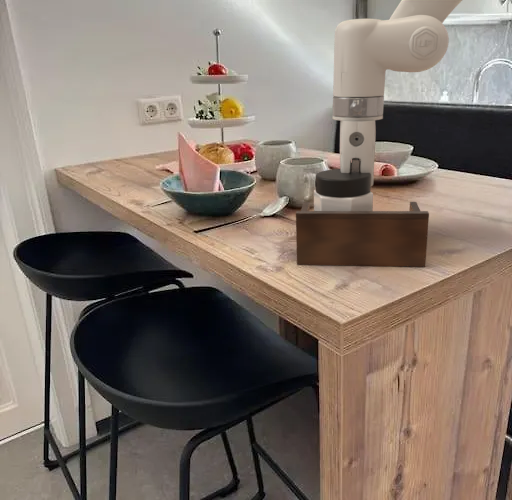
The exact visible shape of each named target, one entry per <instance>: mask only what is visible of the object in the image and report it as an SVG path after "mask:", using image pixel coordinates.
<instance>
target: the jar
mask: <svg viewBox="0 0 512 500" xmlns="http://www.w3.org/2000/svg"><path fill="white" fill-rule="evenodd" d="M314 187H315V189H313V211H374V210H373V209H374V193H373V192H372V186H371V174H370V173H361V172H360V171H359V172H351V171H350V172H349V173H342V172H341V170H340V168H334V169H327V170H322V171H319V172H317V173H316V174H315V180H314Z"/></svg>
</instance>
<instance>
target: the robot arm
mask: <svg viewBox="0 0 512 500" xmlns="http://www.w3.org/2000/svg"><path fill="white" fill-rule="evenodd" d="M461 2H463V0H400V2H399V3H398V5H397V6H396V7H395V9H394V10H393V12H392V14H391V15H390V17H389V19H379V18H353V19H346V20H343V21H341V22H339V23H338V24H337V26H336V28H335V30H334V41H333V42H334V44H333V47H334V48H333V80H332V81H333V82H332V83H333V85H332V89H333V90H332V92H333V93H332V120H334V121H340V122H339V169H340V170H341V172H342V173H349V172H350V171H351V172H359V171H360V172H361V173H370V174H371V187H373V186H374V181H375V180H374V179H375V178H374V177H375V160H376V159H375V158H376V137H377V136H376V134H377V131H376V129H377V127H376V121H380V120H383V119H384V107H385V106H384V105H385V85H386V71H387V70H389V71H393V72H397V73H398V72H399V73H400V72H401V73H421V72H425V71H428V70H431V68H434V67H435V66H437V64H439V63H440V62H441V61H442V59H443V58H444V56H445V55H446V53H447V50H448V47H449V42H450V41H449V40H450V38H449V32H448V30H447V28H446V26H445V25H444V24H443V23H444V21H446V19H447V18H448V16H449V15H450V14H451V13H452V12H454V10H455V9H456V7H457V6H458V5H459V4H460V3H461Z"/></svg>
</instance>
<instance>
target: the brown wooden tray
mask: <svg viewBox="0 0 512 500" xmlns="http://www.w3.org/2000/svg"><path fill="white" fill-rule="evenodd" d="M310 205H311V204H310V201H303V203H302V205H301V209H300V210H296V211H295V236H296V237H295V238H296V243H295V245H296V265H300V266H301V265H304V266H305V265H307V266H354V267H355V266H357V267H358V266H359V267H403V266H407V268H413V267H414V268H425V267H426V263H427V261H426V260H427V248H428V237H429V236H428V234H429V223H430V222H429V220H430V212H429V211H428V210H421V208H420V206H419V204H418V203H417V201H410V202H409V210H373V211H314V210H311V206H310ZM409 266H411V267H409ZM416 266H417V267H416ZM422 266H424V267H422Z"/></svg>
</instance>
